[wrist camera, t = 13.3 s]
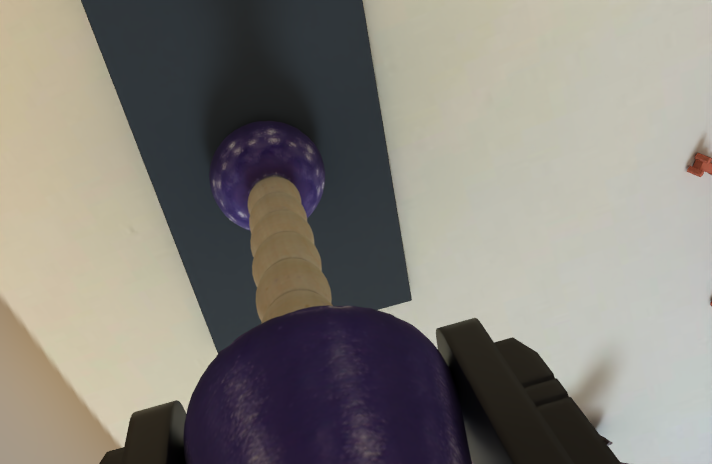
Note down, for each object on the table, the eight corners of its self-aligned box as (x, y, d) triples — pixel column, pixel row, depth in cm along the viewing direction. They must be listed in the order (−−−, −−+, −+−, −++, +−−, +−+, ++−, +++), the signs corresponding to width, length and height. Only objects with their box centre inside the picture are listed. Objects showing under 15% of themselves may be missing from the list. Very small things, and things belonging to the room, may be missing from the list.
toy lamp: (196, 111, 20) (105, 601, 5) (329, 97, 20) (592, 488, 6) (219, 234, 22) (202, 822, 7) (339, 217, 22) (545, 723, 8)
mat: (69, -41, 18) (64, -41, 17) (343, -97, 19) (346, -98, 18) (218, 345, 26) (217, 353, 25) (408, 293, 26) (412, 300, 26)
